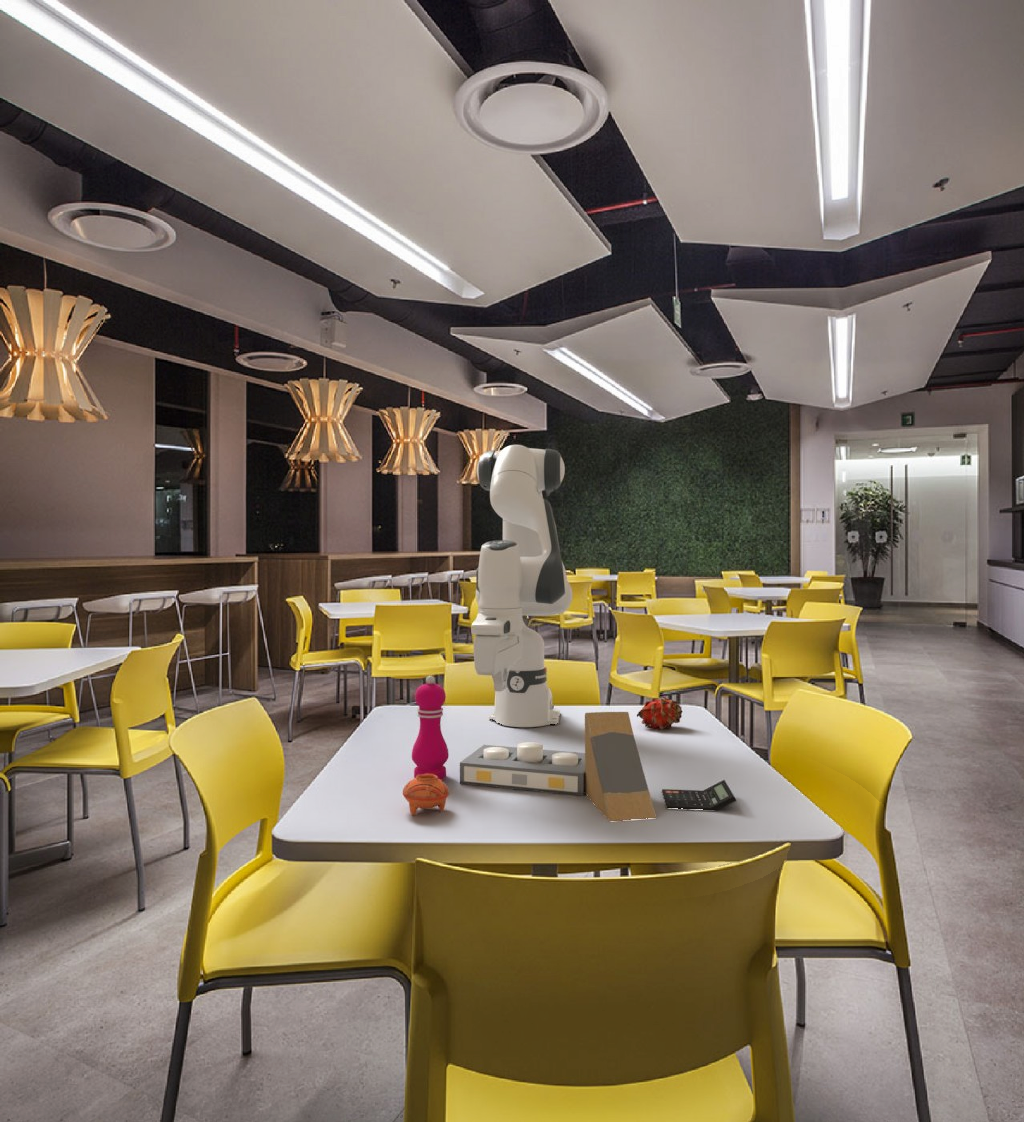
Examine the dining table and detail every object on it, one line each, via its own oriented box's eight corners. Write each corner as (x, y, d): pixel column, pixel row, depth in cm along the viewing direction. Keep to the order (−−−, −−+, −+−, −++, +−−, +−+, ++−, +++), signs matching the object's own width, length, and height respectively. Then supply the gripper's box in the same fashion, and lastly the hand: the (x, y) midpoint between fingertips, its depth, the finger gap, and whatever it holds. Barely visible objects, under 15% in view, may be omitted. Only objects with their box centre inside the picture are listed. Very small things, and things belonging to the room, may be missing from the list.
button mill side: (488, 766, 148) (488, 746, 148) (511, 768, 146) (511, 748, 146) (479, 773, 143) (479, 752, 143) (504, 776, 142) (504, 754, 142)
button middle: (521, 762, 146) (521, 741, 146) (545, 764, 144) (545, 743, 144) (514, 769, 141) (514, 747, 141) (539, 771, 140) (539, 749, 140)
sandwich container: (609, 823, 119) (609, 731, 119) (583, 793, 134) (583, 712, 134) (658, 820, 121) (659, 729, 121) (628, 791, 136) (628, 710, 136)
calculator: (662, 793, 135) (662, 777, 135) (726, 796, 134) (726, 779, 134) (667, 811, 125) (667, 793, 125) (736, 813, 124) (736, 796, 124)
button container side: (555, 772, 144) (555, 751, 144) (580, 775, 142) (580, 753, 142) (549, 780, 139) (549, 758, 139) (575, 782, 138) (575, 760, 138)
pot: (393, 806, 126) (401, 766, 127) (435, 810, 129) (443, 772, 130) (405, 819, 119) (415, 777, 120) (450, 824, 122) (458, 783, 123)
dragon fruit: (687, 734, 185) (640, 742, 185) (676, 709, 192) (631, 716, 191) (689, 712, 180) (641, 719, 180) (678, 687, 187) (632, 694, 186)
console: (483, 763, 153) (483, 744, 153) (597, 773, 146) (597, 753, 146) (458, 784, 139) (458, 763, 139) (582, 796, 132) (582, 774, 132)
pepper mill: (416, 784, 139) (417, 679, 139) (407, 774, 145) (407, 673, 145) (453, 780, 141) (453, 677, 141) (442, 770, 148) (442, 671, 148)
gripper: (501, 615, 157) (501, 679, 158) (467, 626, 138) (468, 699, 138) (529, 616, 155) (529, 681, 156) (499, 627, 136) (499, 701, 136)
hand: (500, 690), depth 147 cm, fingers closed
